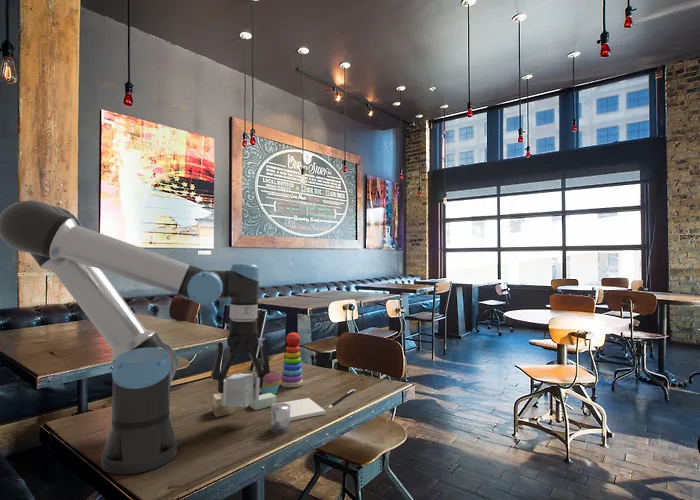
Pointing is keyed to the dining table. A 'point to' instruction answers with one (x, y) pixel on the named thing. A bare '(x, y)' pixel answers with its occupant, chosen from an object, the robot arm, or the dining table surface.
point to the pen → (342, 398)
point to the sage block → (264, 401)
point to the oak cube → (218, 407)
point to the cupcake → (271, 383)
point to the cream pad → (304, 409)
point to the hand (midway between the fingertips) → (240, 402)
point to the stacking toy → (292, 363)
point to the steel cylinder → (280, 418)
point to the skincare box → (240, 390)
